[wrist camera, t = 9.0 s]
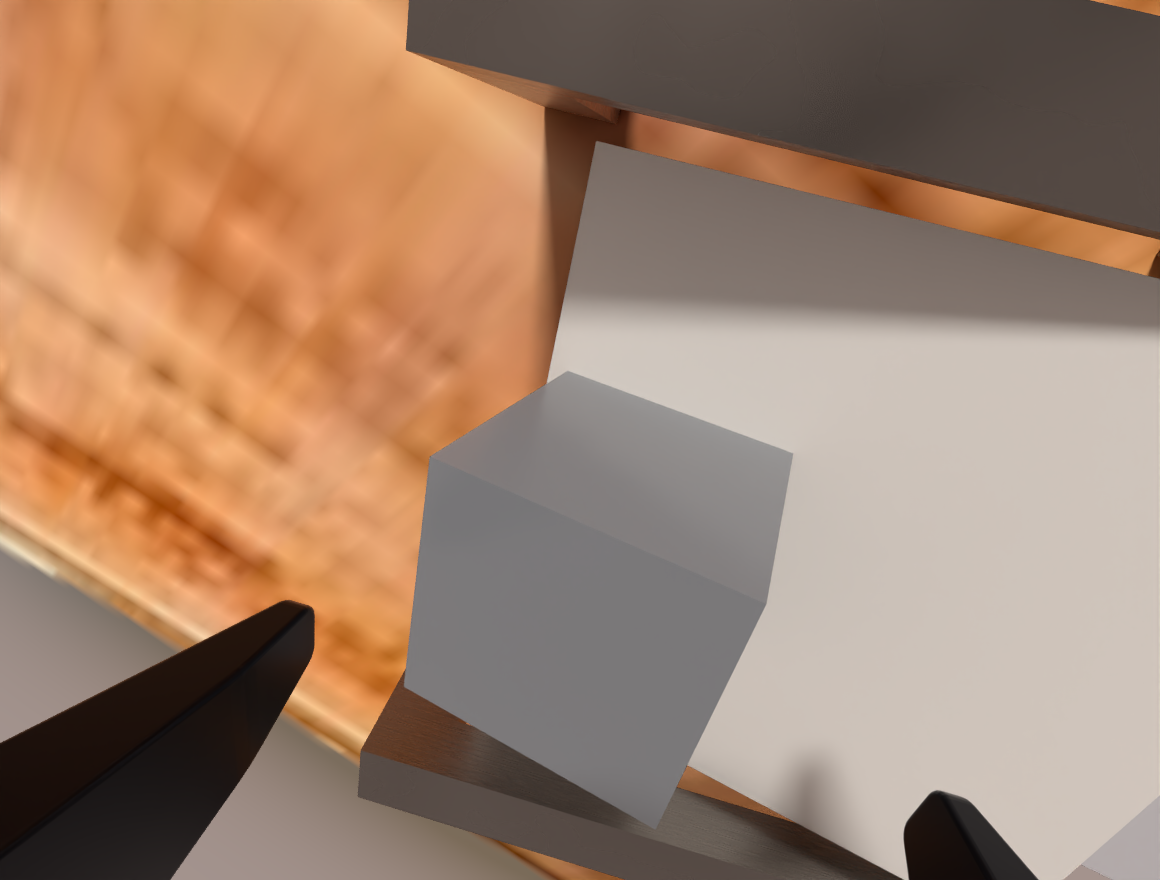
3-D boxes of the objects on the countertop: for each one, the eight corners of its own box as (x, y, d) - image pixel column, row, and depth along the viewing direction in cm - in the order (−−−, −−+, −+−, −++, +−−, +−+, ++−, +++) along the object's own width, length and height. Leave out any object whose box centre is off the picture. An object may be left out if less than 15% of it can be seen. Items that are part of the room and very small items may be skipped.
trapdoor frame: (1300, 190, 13) (2092, 224, 6) (913, 717, 22) (1032, 1005, 15) (559, 15, 14) (418, -150, 7) (465, 588, 23) (357, 796, 15)
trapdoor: (1601, 387, 10) (2133, 518, 6) (1111, 825, 17) (1204, 1038, 12) (665, 158, 15) (596, 140, 11) (559, 569, 21) (489, 660, 17)
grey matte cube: (793, 453, 11) (766, 604, 7) (712, 633, 14) (655, 829, 9) (567, 370, 13) (429, 456, 8) (527, 548, 15) (403, 686, 11)
